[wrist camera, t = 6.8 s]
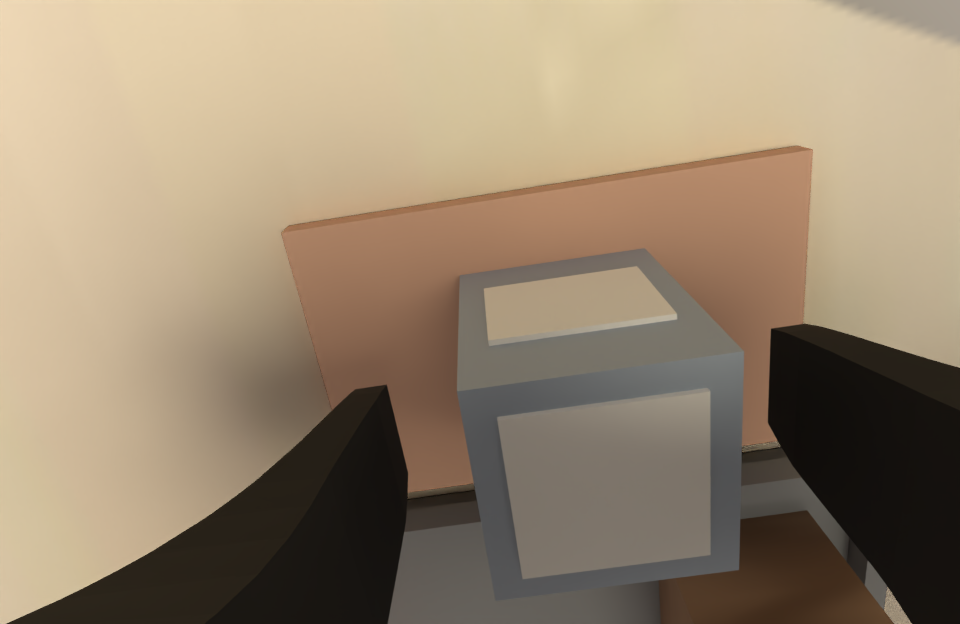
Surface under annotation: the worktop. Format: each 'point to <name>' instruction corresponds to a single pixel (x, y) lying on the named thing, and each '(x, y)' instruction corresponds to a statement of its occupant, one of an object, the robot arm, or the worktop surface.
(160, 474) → the worktop surface
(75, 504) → the worktop surface
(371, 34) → the worktop surface
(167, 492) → the worktop surface
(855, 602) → the walnut block
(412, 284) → the rubber mat
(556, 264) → the labelled block
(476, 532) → the parts tray
